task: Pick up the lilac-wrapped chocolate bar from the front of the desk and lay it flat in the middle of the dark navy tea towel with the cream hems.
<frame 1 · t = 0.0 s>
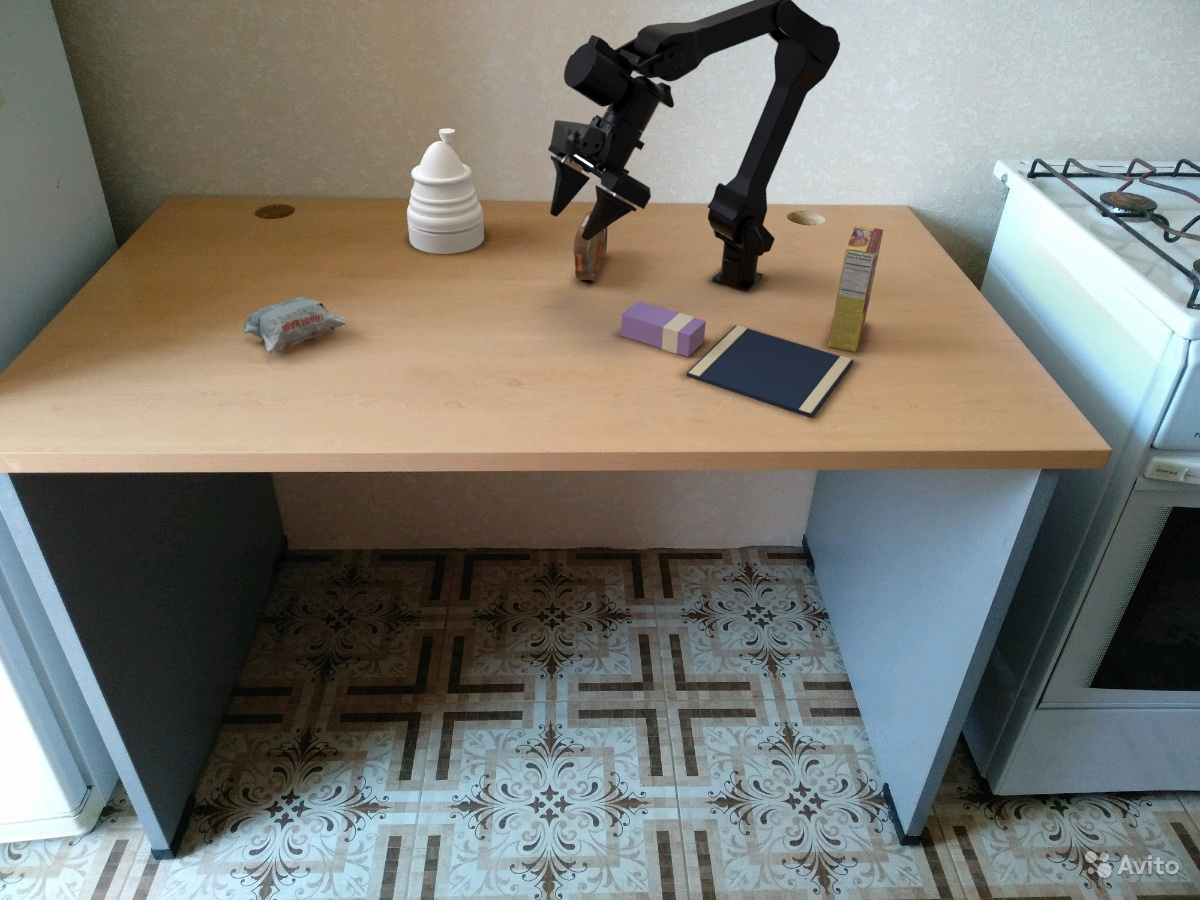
hand: (568, 227, 122), 15 cm above the table, tool tilted 35°, fingers open, 9 cm apart
honey pot: (447, 239, 155), on the table
chocolate: (662, 339, 128), on the table
candy box: (845, 337, 130), on the table
packaged food: (298, 340, 126), on the table
tin: (590, 269, 146), on the table
towel: (770, 369, 122), on the table
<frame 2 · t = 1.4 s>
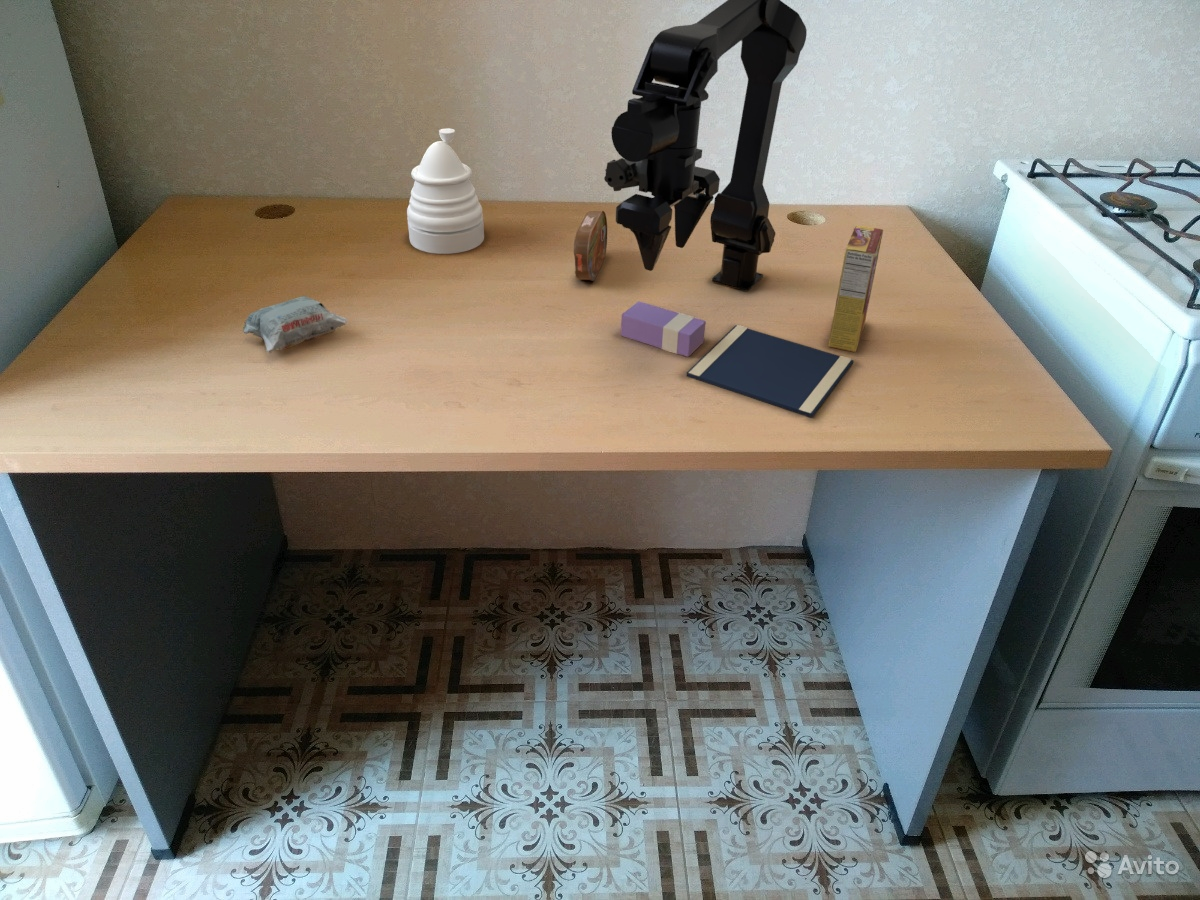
hand: (664, 258, 121), 13 cm above the table, tool pointing down, fingers open, 9 cm apart
nothing on the table moved.
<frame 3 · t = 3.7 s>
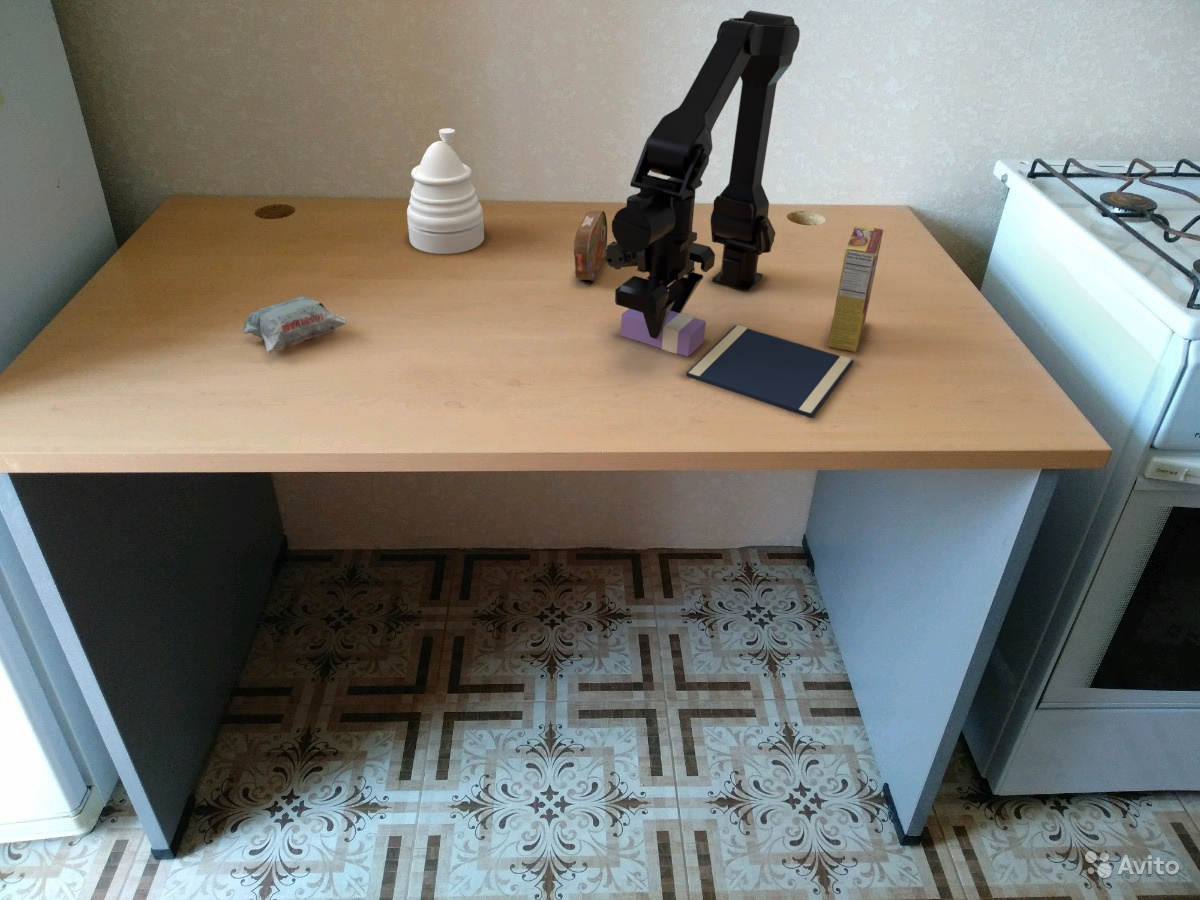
hand: (662, 329, 127), 2 cm above the table, tool pointing down, fingers closed on chocolate, 5 cm apart
chocolate: (662, 339, 128), on the table, touching gripper
everything else where it was.
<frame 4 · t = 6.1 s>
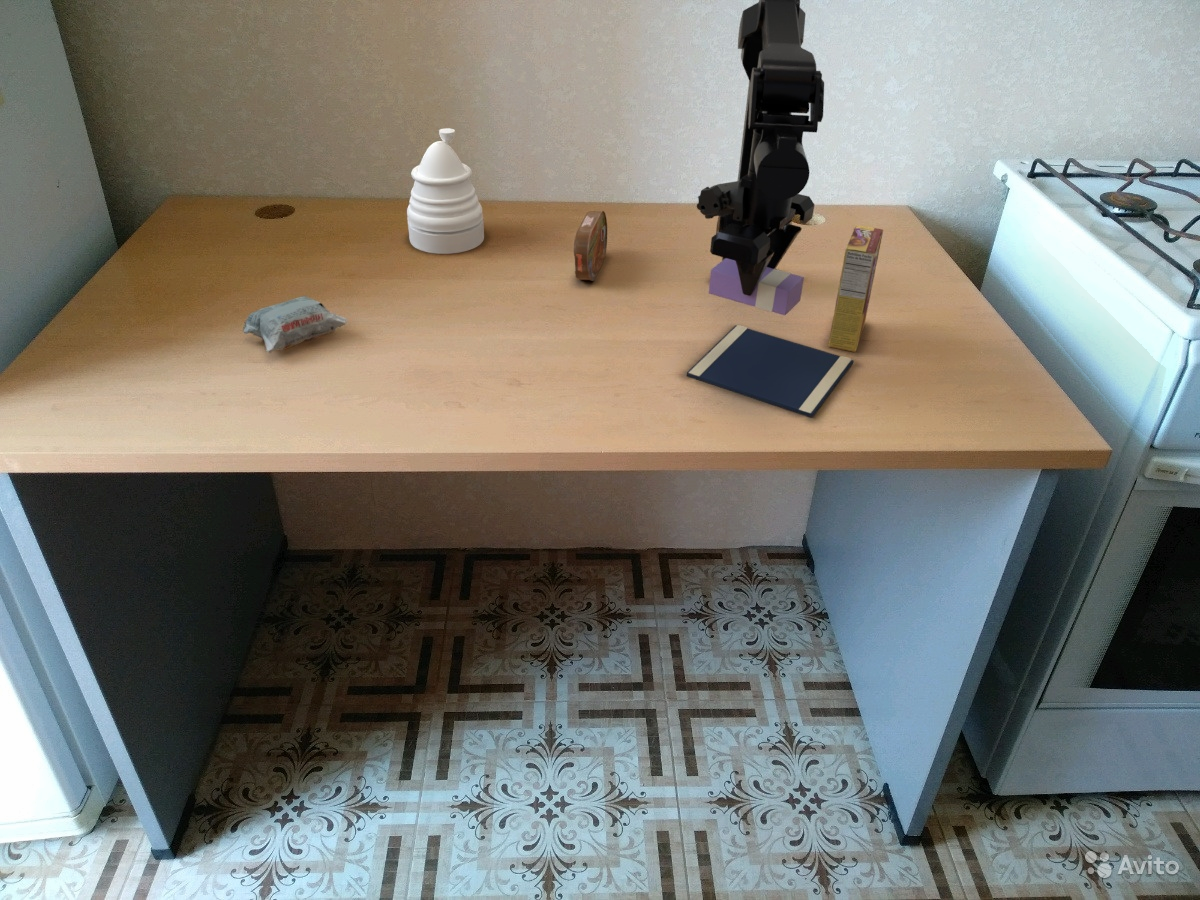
hand: (755, 287, 116), 12 cm above the table, tool pointing down, fingers closed on chocolate, 5 cm apart
chocolate: (754, 297, 117), point 10 cm above the table, touching gripper
everything else where it was.
when the fingers open (2 cm above the table, at t = 8.6 s): chocolate stays where it is, resting on towel.
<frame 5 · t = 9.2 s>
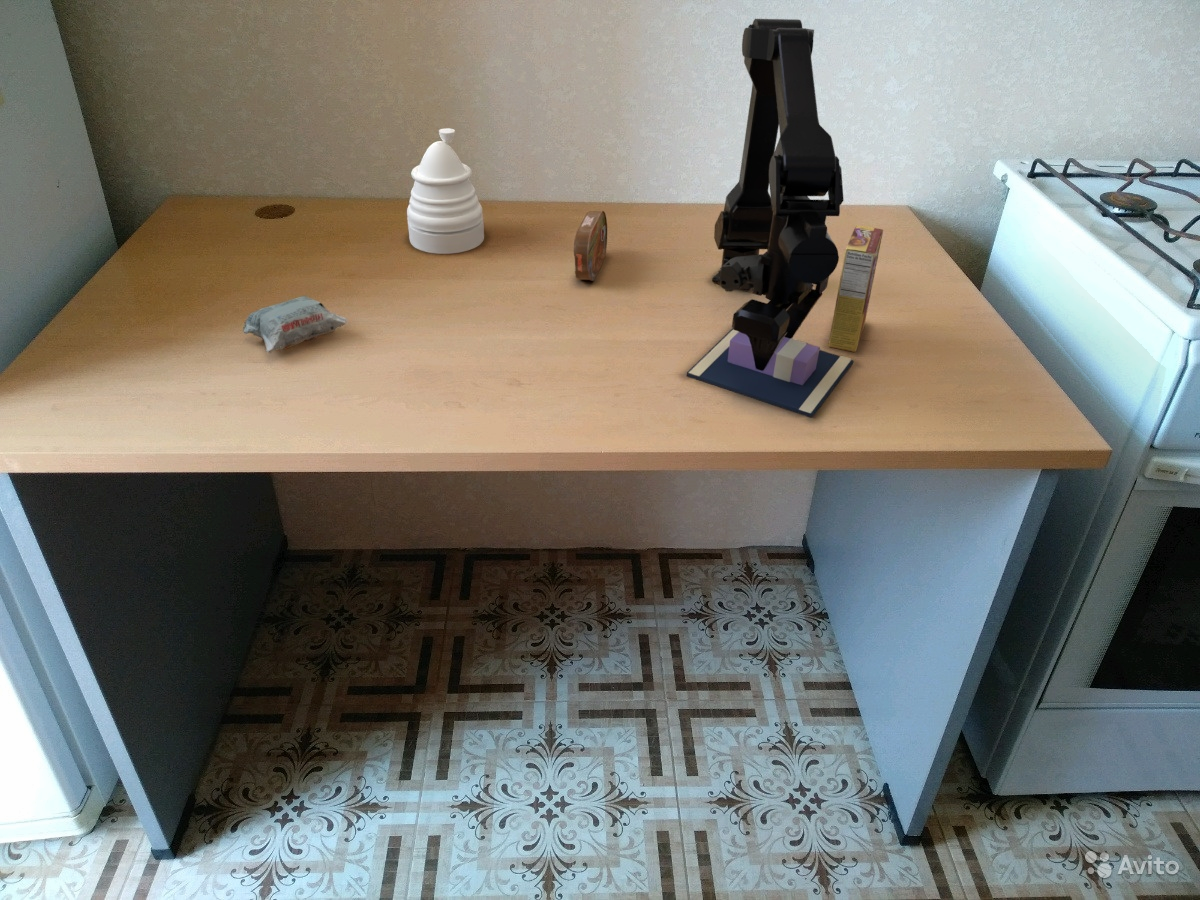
hand: (773, 354, 121), 2 cm above the table, tool pointing down, fingers open, 9 cm apart
chocolate: (771, 365, 122), point 1 cm above the table, touching towel
everything else where it was.
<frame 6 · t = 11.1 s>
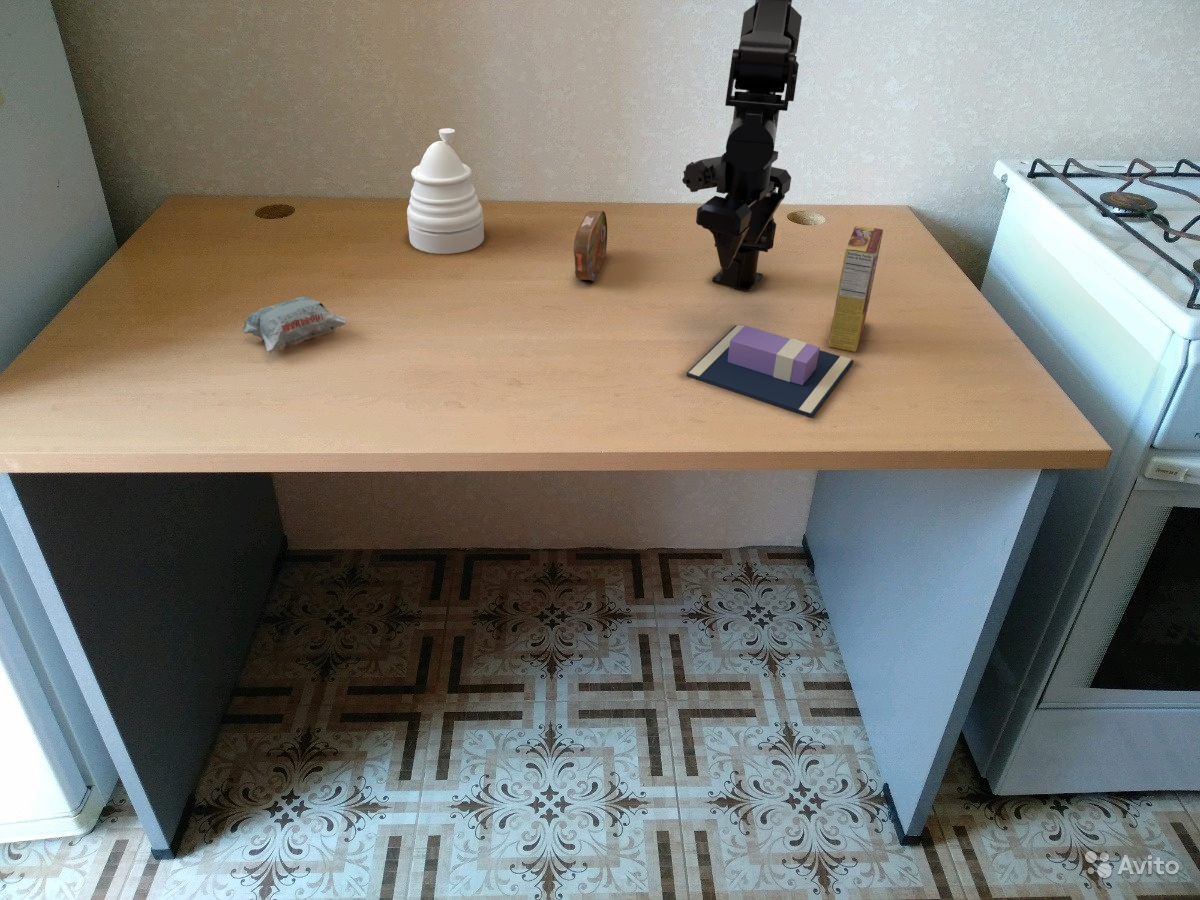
hand: (738, 255, 125), 11 cm above the table, tool pointing down, fingers open, 9 cm apart
nothing on the table moved.
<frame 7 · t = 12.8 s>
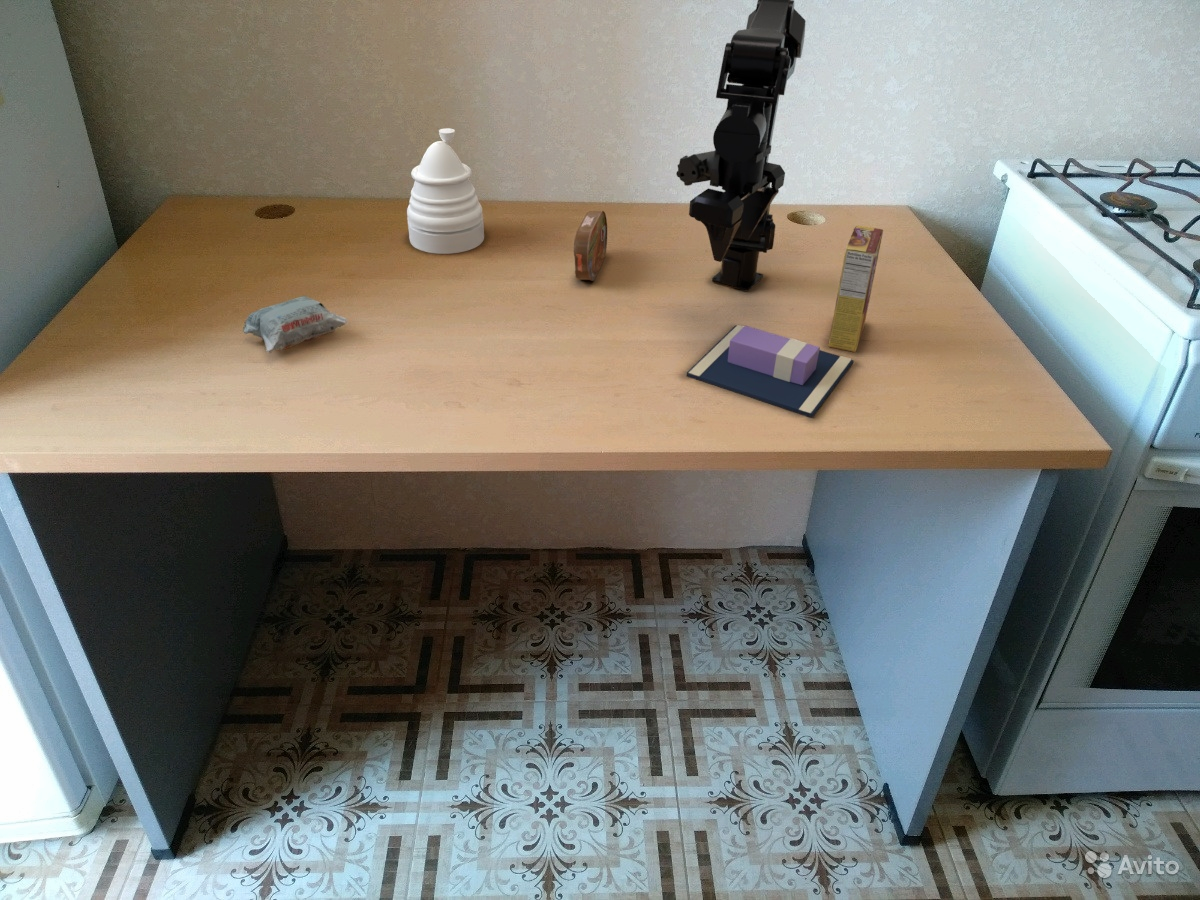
hand: (731, 249, 126), 12 cm above the table, tool pointing down, fingers open, 9 cm apart
nothing on the table moved.
at the end: chocolate inside the target area on the towel (0.0 cm from its centre), point 0.6 cm above the towel's base; chocolate tilted 0°; the gripper is holding nothing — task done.
